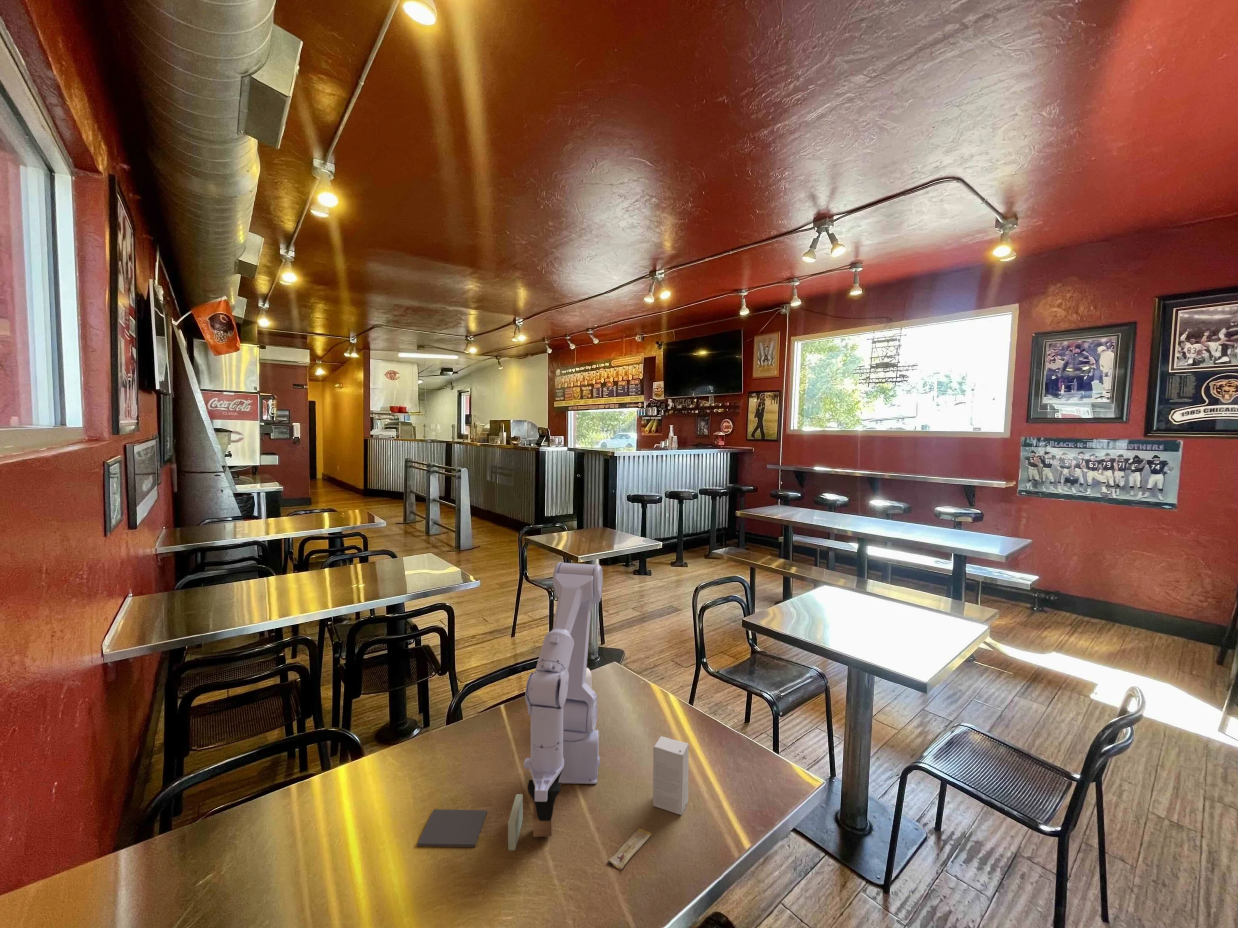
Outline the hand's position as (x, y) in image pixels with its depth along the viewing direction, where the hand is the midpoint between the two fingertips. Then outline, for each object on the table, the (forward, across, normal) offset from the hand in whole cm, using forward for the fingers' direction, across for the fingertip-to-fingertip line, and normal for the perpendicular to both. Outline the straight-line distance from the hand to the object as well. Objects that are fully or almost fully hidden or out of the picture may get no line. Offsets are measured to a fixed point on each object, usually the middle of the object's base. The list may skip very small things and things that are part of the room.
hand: (546, 810), depth 92 cm
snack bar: (+5, +3, +15) cm, 16 cm away
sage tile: (+4, 0, -6) cm, 7 cm away
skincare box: (+5, -8, +23) cm, 25 cm away
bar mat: (+4, -1, -17) cm, 18 cm away
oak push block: (+3, 0, 0) cm, 3 cm away
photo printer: (+5, -37, +2) cm, 37 cm away
